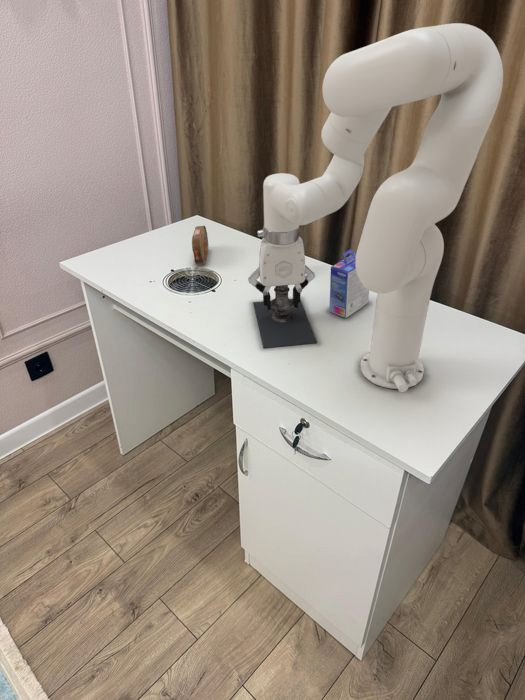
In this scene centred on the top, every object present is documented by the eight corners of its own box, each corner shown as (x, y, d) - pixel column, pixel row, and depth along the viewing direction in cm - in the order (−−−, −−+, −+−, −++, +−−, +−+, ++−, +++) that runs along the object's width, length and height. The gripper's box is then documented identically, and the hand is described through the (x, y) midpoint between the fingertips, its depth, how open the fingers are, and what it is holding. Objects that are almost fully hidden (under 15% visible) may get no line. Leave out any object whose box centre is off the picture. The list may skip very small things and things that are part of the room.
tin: (204, 269, 145) (201, 241, 140) (193, 269, 145) (190, 241, 140) (209, 247, 157) (207, 221, 152) (199, 247, 157) (196, 221, 152)
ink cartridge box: (350, 296, 130) (355, 243, 122) (369, 303, 127) (375, 249, 119) (327, 311, 124) (330, 256, 116) (345, 319, 121) (350, 263, 113)
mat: (316, 343, 113) (317, 342, 113) (263, 348, 112) (263, 347, 112) (300, 299, 130) (300, 298, 129) (253, 303, 128) (253, 302, 128)
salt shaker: (292, 324, 119) (292, 278, 112) (267, 322, 120) (266, 276, 114) (295, 311, 124) (296, 266, 117) (272, 309, 125) (271, 264, 118)
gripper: (243, 244, 106) (247, 317, 117) (324, 238, 108) (320, 311, 118) (240, 230, 112) (244, 301, 123) (317, 224, 114) (314, 295, 124)
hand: (281, 305), depth 121 cm, fingers closed on salt shaker, 5 cm apart
